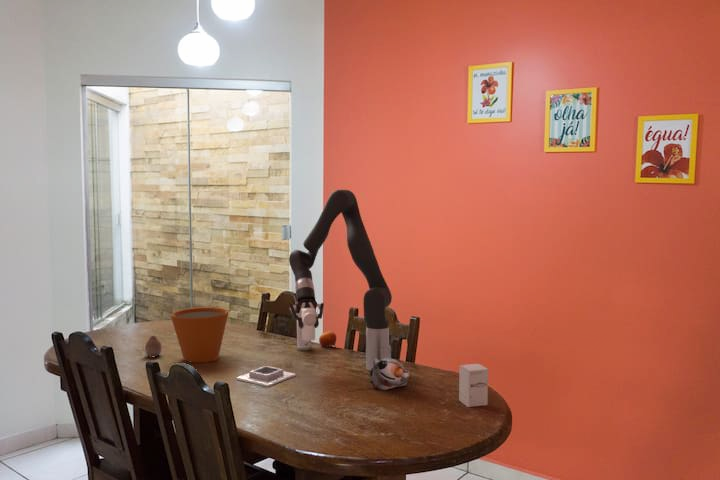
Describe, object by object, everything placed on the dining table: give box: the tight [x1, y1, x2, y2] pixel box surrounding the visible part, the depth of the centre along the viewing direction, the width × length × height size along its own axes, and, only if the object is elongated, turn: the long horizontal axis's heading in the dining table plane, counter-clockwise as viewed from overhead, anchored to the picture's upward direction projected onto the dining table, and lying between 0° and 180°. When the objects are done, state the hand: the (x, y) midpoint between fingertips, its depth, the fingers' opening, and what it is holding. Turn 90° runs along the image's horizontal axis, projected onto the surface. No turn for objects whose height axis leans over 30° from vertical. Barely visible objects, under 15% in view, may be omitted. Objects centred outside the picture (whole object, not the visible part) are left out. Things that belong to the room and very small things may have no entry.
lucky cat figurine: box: [369, 358, 411, 391], centre depth 222 cm, size 15×12×14 cm
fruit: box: [318, 330, 337, 348], centre depth 281 cm, size 8×8×8 cm
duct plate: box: [236, 365, 297, 388], centre depth 234 cm, size 16×16×3 cm
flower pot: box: [170, 306, 229, 363], centre depth 261 cm, size 24×24×20 cm
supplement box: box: [458, 363, 489, 408], centre depth 206 cm, size 7×7×13 cm
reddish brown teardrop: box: [144, 335, 163, 358], centre depth 265 cm, size 7×7×9 cm
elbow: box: [302, 308, 316, 341], centre depth 236 cm, size 9×5×12 cm, turn 12°
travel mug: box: [296, 308, 312, 352], centre depth 276 cm, size 6×7×20 cm
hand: (308, 327), depth 236 cm, fingers closed on elbow, 5 cm apart
